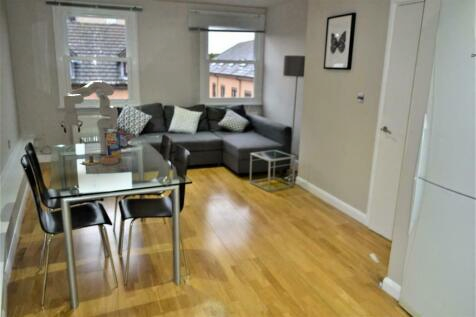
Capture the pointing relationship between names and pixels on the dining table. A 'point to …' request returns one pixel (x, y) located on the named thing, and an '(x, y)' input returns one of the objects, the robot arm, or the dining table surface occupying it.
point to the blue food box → (113, 144)
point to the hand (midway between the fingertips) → (72, 132)
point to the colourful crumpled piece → (124, 138)
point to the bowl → (109, 159)
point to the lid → (91, 161)
